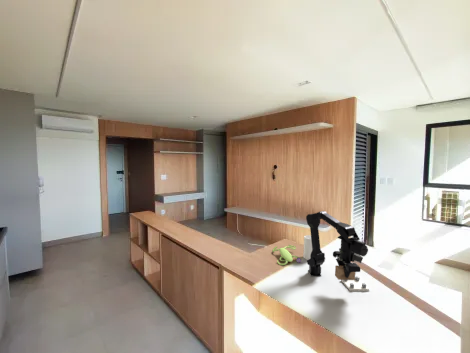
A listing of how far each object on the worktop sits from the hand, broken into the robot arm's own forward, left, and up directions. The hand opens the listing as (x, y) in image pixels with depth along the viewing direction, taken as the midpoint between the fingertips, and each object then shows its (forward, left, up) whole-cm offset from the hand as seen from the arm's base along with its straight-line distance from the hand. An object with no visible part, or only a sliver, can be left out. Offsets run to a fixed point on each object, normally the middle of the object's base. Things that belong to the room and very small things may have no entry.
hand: (344, 275), depth 120 cm
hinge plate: (+10, +7, -10) cm, 16 cm away
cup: (-5, +42, -11) cm, 44 cm away
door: (0, 0, -1) cm, 1 cm away
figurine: (-22, +44, -11) cm, 50 cm away
